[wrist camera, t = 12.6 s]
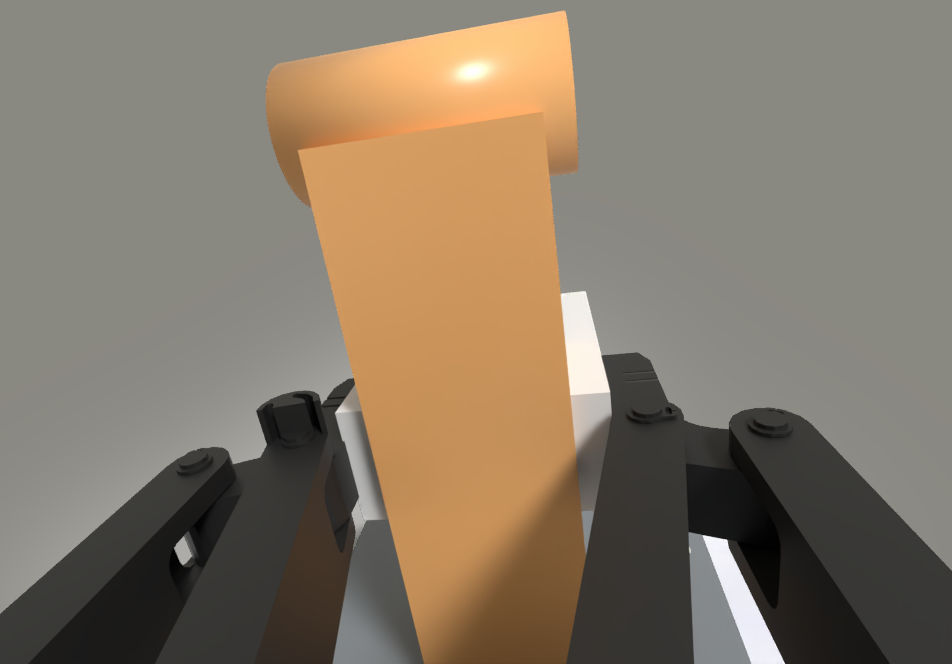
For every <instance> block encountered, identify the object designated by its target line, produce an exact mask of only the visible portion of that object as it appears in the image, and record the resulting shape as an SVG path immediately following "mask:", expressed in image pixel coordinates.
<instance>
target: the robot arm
mask: <svg viewBox="0 0 952 664" xmlns="http://www.w3.org/2000/svg"><path fill="white" fill-rule="evenodd" d="M561 303H562V313H563V324H564V334H565V344H566V355H567V365H568V376H569V386H570V397H571V407H572V417H573V428H574V438H575V449H576V459H577V470H578V480H579V490H580V501H581V511H594V515H593V521H592V526H591V531H590V537H589V542H588V548H587V553H586V559H585V564H584V570H583V575H582V580H581V586H580V591H579V597H578V602H577V608H576V613H575V618H574V624H573V629H572V635H571V640H570V646H569V651H568V657H567V662H566V664H694V647H693V624H692V600H691V577H690V554H689V532H690V533H695V534H701V535H706V536H711V537H716V538H721V539H727V540H728V545H729V549H730V551H731V553H732V555H733V557H734V559H735V561H736V563H737V565H738V567H739V570H740V572H741V574H742V576H743V578H744V580H745V582H746V584H747V586H748V588H749V590H750V592H751V594H752V596H753V598H754V600H755V602H756V605H757V607H758V609H759V611H760V613H761V615H762V617H763V619H764V621H765V623H766V625H767V627H768V629H769V631H770V633H771V635H772V637H773V640H774V642H775V644H776V646H777V648H778V650H779V652H780V654H781V656H782V658H783V660H784V662H785V664H952V571H951V570H950V569H949V568H948V567H947V566H946V565H945V563H944V562H943V561H941V559H940V558H939V557H938V556H937V555H936V554H935V553H934V552H933V551H932V550H931V549H930V548H929V547H928V546H927V545H926V544H925V542H923V540H922V539H921V538H920V537H919V536H918V535H917V534H916V533H915V532H914V531H913V530H912V529H911V528H910V527H909V526H908V525H907V524H906V523H905V522H904V521H903V519H901V517H900V516H899V515H898V514H897V513H896V512H895V511H894V510H893V509H892V508H891V507H890V506H889V505H888V504H887V503H886V502H885V501H884V500H883V499H882V498H881V497H880V495H879V494H878V493H877V492H876V491H875V490H874V489H873V488H872V487H871V486H870V485H869V484H868V483H867V482H866V481H865V480H864V479H863V478H862V477H861V476H860V475H859V474H858V473H857V471H856V470H855V469H854V468H853V467H852V466H851V465H850V464H849V463H848V462H847V461H846V460H845V459H844V458H843V457H842V456H841V455H840V454H839V453H838V452H837V451H836V449H835V448H834V447H833V446H832V445H831V444H830V443H829V442H828V441H827V440H826V439H825V438H824V437H823V436H822V435H821V434H820V433H819V432H818V431H817V430H816V429H815V428H814V426H813V425H812V424H810V423H809V422H808V421H807V420H805V419H804V418H802V417H801V416H798V415H795V414H793V413H790V412H788V411H785V410H781V409H775V408H754V409H749V410H744V411H741V412H739V413H737V414H735V415H733V417H732V418H731V420H730V422H729V430H728V429H718V428H710V427H704V426H699V425H695V424H692V423H689V422H687V421H684V416H683V413H682V411H681V409H679V408H678V407H677V406H675V405H674V404H672V403H669V402H668V400H667V398H666V396H665V394H664V391H663V389H662V387H661V384H660V383H659V380H658V378H657V375H656V373H655V372H654V369H653V366H652V364H651V362H650V360H649V359H647V358H645V357H644V356H642V355H641V354H639V353H626V354H615V355H603V356H601V352H600V348H599V344H598V340H597V336H596V332H595V328H594V324H593V320H592V316H591V312H590V308H589V304H588V299H587V295H586V292H585V291H583V292H573V293H564V294H561ZM256 412H257V415H258V418H259V421H260V424H261V427H262V430H263V433H264V437H265V440H266V443H267V446H266V448H265V450H264V452H263V454H262V456H261V457H260V458H258V459H253V460H249V461H245V462H241V463H237V464H232V461H231V458H230V455H229V452H228V451H227V450H226V449H224V448H218V447H211V448H201V449H197V450H196V451H195V450H194V451H191V452H189V453H187V454H186V455H185V456H183V457H180V458H178V459H177V460H175V461H174V462H173V463H171V464H170V465H169V466H167V467H166V468H165V469H164V470H163V471H162V472H160V473H159V474H158V475H157V476H156V477H155V478H154V479H152V480H151V481H150V482H149V483H148V484H147V485H146V486H145V487H143V488H142V489H141V490H140V491H139V492H138V493H137V494H135V495H134V496H133V497H132V498H131V499H130V500H129V501H128V502H126V503H125V504H124V505H123V506H122V507H121V508H120V509H119V510H117V511H116V512H115V513H114V514H113V515H112V516H111V517H110V518H108V519H107V520H106V521H105V522H104V523H103V524H101V525H100V526H99V527H98V528H97V529H96V530H95V531H94V532H93V533H91V534H90V535H89V536H88V537H87V538H86V539H85V540H84V541H82V542H81V543H80V544H79V545H78V546H77V547H75V548H74V549H73V550H72V551H71V552H70V553H69V554H68V555H67V556H65V557H64V558H63V559H62V560H61V561H60V562H59V563H57V564H56V565H55V566H54V567H53V568H52V569H51V570H49V571H48V572H47V573H46V574H45V575H44V576H43V577H42V578H40V579H39V580H38V581H37V582H36V583H35V584H34V585H32V586H31V587H30V588H29V589H28V590H27V591H26V592H25V593H23V594H22V595H21V596H20V597H19V598H18V599H17V600H16V601H14V602H13V603H12V604H11V605H10V606H9V607H8V608H6V610H4V611H3V612H2V613H1V614H0V664H333V659H334V653H335V647H336V642H337V636H338V630H339V625H340V619H341V613H342V607H343V602H344V596H345V590H346V584H347V579H348V573H349V567H350V561H351V556H352V550H353V544H354V539H355V533H356V532H355V525H354V522H353V518H352V514H351V512H352V510H353V508H354V506H355V504H356V502H357V500H358V501H359V504H360V509H361V512H362V516H363V520H384V519H388V515H387V511H386V507H385V503H384V499H383V495H382V491H381V487H380V483H379V478H378V474H377V470H376V466H375V462H374V458H373V454H372V450H371V446H370V442H369V438H368V434H367V430H366V426H365V422H364V418H363V413H362V409H361V405H360V401H359V397H358V393H357V389H356V385H355V381H354V378H353V379H348V380H346V381H345V382H343V383H342V384H340V385H339V386H337V387H336V388H334V390H333V391H332V392H331V394H330V395H329V396H328V397H327V400H325V401H324V403H323V404H322V405H321V401H320V397H319V395H318V394H317V393H315V392H312V391H297V392H291V393H287V394H283V395H280V396H278V397H275V398H273V399H271V400H269V401H267V402H266V403H264V404H262V405H261V406H260V407H259V408H258V409H257V411H256ZM183 536H184V537H185V540H186V542H187V544H188V547H189V549H190V552H191V554H192V557H191V558H190V560H189V561H188V562H187V563H186V564H184V565H182V564H181V563H180V562H179V559H178V557H177V554H176V552H175V550H174V547H175V546H176V544H177V543H178V542H179V540H180V539H181V538H182V537H183Z"/></svg>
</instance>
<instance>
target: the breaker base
mask: <svg viewBox="0 0 952 664" xmlns="http://www.w3.org/2000/svg"><path fill="white" fill-rule="evenodd" d="M593 515H594V511H582V522H583V532H584V543H585V553H587V548H588V542H589V537H590V531H591V526H592V521H593ZM689 554H690V577H691V600H692V624H693V647H694V664H751V662H750V659H749V657H748V654H747V651H746V649H745V646H744V644H743V641H742V638H741V636H740V633H739V630H738V628H737V625H736V623H735V620H734V617H733V615H732V612H731V609H730V607H729V604H728V602H727V599H726V596H725V594H724V591H723V588H722V586H721V583H720V581H719V578H718V575H717V573H716V570H715V568H714V565H713V562H712V560H711V557H710V554H709V552H708V549H707V547H706V544H705V541H704V539H703V536H702V535H701V534H695V533H690V532H689ZM333 664H424V661H423V657H422V653H421V649H420V645H419V641H418V637H417V633H416V629H415V625H414V621H413V617H412V613H411V608H410V604H409V600H408V596H407V592H406V588H405V584H404V580H403V576H402V572H401V568H400V564H399V560H398V556H397V552H396V548H395V543H394V539H393V535H392V531H391V527H390V523H389V519H384V520H367V521H366V523H365V525H364V528H363V530H362V532H361V534H360V537H359V539H358V541H357V544H356V546H355V548H354V550H353V553H352V556H351V561H350V567H349V573H348V579H347V584H346V590H345V596H344V602H343V607H342V613H341V619H340V625H339V630H338V636H337V642H336V647H335V653H334V659H333Z"/></svg>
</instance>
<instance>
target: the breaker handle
mask: <svg viewBox="0 0 952 664" xmlns="http://www.w3.org/2000/svg"><path fill="white" fill-rule="evenodd" d="M266 112H267V121H268V126H269V132H270V136H271V141H272V144H273V148H274V151H275V154H276V157H277V160H278V163H279V165H280V167H281V170H282V172H283V174H284V176H285V178H286V180H287V182H288V184H289V185H290V187H291V189H292V190H293V192H294V193H295V194H296V196H297V197H298V198H299V199H300V200H301V201H302V202H303V203H304V204H305V205H307V206H309V207H311V208H312V210H313V214H314V218H315V222H316V226H317V231H318V234H319V238H320V243H321V246H322V251H323V255H324V259H325V263H326V267H327V271H328V275H329V279H330V283H331V287H332V292H333V295H334V299H335V304H336V308H337V312H338V316H339V320H340V324H341V328H342V332H343V336H344V340H345V344H346V348H347V352H348V356H349V361H350V365H351V369H352V373H353V377H354V381H355V385H356V389H357V393H358V397H359V401H360V405H361V409H362V413H363V418H364V422H365V426H366V430H367V434H368V438H369V442H370V446H371V450H372V454H373V458H374V462H375V466H376V470H377V474H378V478H379V483H380V487H381V491H382V495H383V499H384V503H385V507H386V511H387V515H388V519H389V523H390V527H391V531H392V535H393V539H394V543H395V548H396V552H397V556H398V560H399V564H400V568H401V572H402V576H403V580H404V584H405V588H406V592H407V596H408V600H409V604H410V608H411V613H412V617H413V621H414V625H415V629H416V633H417V637H418V641H419V645H420V649H421V653H422V657H423V661H424V664H566V662H567V657H568V651H569V646H570V640H571V635H572V629H573V624H574V618H575V613H576V608H577V602H578V597H579V591H580V586H581V580H582V575H583V570H584V564H585V559H586V553H585V543H584V532H583V522H582V511H581V501H580V490H579V480H578V470H577V459H576V449H575V438H574V428H573V417H572V407H571V397H570V386H569V376H568V365H567V355H566V344H565V334H564V324H563V313H562V303H561V292H560V282H559V273H558V272H559V271H558V261H557V251H556V240H555V230H554V219H553V209H552V199H551V188H550V178H549V176H556V175H563V174H570V173H577V172H578V138H577V119H576V104H575V90H574V78H573V68H572V56H571V46H570V38H569V30H568V22H567V17H566V13H565V11H559V12H554V13H548V14H543V15H538V16H532V17H527V18H522V19H516V20H511V21H506V22H500V23H495V24H489V25H484V26H479V27H473V28H468V29H462V30H457V31H451V32H446V33H441V34H435V35H430V36H425V37H419V38H414V39H409V40H404V41H398V42H392V43H387V44H381V45H376V46H371V47H365V48H360V49H355V50H349V51H344V52H338V53H333V54H327V55H322V56H317V57H311V58H306V59H301V60H295V61H290V62H284V63H280V64H277V65H276V66H275V67H274V68H273V69H272V70H271V73H270V75H269V78H268V82H267V88H266Z"/></svg>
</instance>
